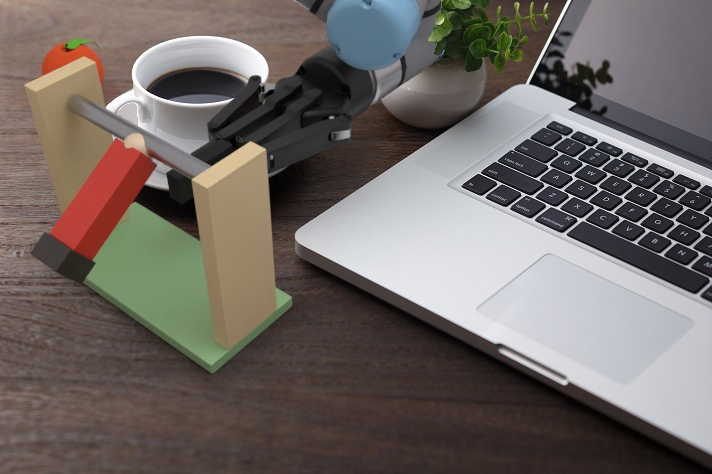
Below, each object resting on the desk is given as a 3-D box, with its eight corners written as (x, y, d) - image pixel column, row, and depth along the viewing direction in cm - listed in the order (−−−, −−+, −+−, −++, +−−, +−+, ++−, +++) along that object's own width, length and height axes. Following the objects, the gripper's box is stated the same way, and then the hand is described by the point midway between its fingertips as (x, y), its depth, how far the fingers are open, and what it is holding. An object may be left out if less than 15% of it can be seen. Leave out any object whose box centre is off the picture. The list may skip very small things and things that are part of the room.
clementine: (86, 73, 103) (74, 20, 98) (127, 89, 100) (117, 36, 95) (36, 102, 98) (21, 48, 93) (78, 120, 95) (65, 65, 90)
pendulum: (-24, 215, 66) (69, 85, 67) (4, 230, 68) (92, 104, 70) (116, 315, 58) (216, 165, 60) (141, 326, 61) (236, 183, 63)
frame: (54, 263, 77) (1, 95, 65) (137, 210, 83) (103, 47, 71) (212, 374, 68) (185, 202, 56) (293, 306, 74) (284, 136, 61)
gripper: (397, 131, 84) (232, 254, 70) (300, 87, 90) (131, 192, 76) (401, 66, 79) (224, 184, 65) (298, 24, 85) (116, 124, 71)
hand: (174, 188), depth 70 cm, fingers closed
